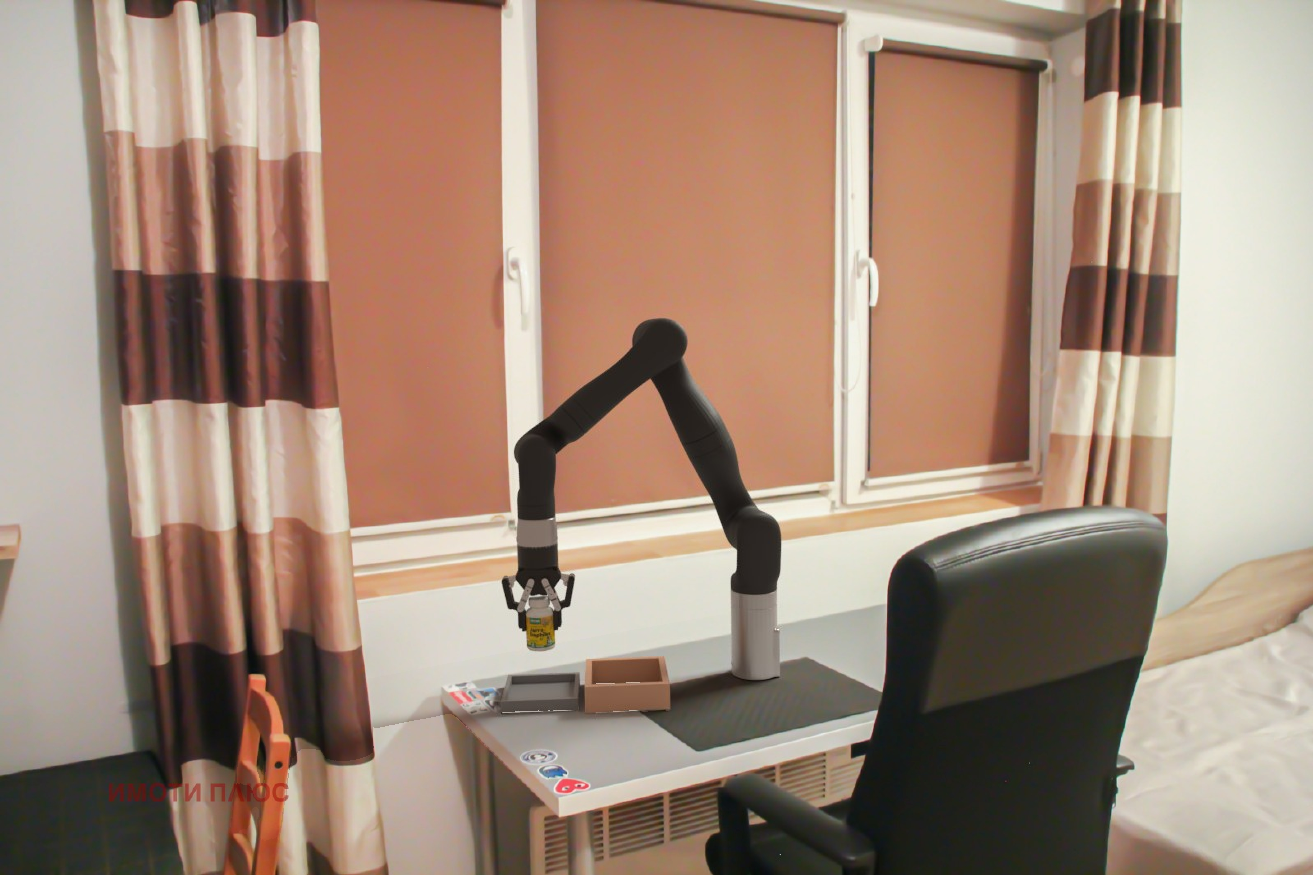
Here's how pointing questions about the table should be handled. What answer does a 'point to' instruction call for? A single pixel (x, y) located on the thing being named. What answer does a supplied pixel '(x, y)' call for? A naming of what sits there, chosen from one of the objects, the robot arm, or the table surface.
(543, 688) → the tray
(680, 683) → the table surface
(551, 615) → the supplement bottle
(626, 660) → the box
